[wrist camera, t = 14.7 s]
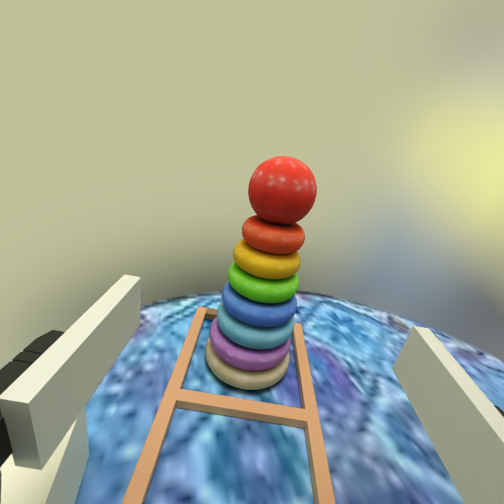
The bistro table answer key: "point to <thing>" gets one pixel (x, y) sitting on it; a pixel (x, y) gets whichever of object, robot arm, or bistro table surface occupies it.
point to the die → (50, 472)
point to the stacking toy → (263, 279)
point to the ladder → (234, 415)
